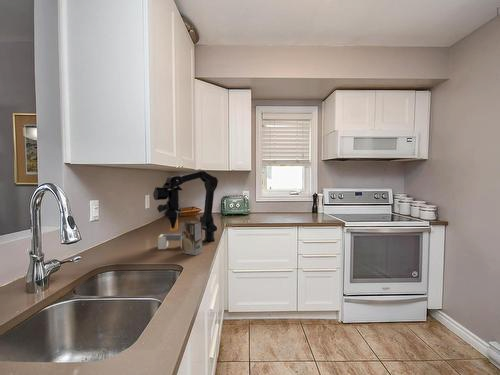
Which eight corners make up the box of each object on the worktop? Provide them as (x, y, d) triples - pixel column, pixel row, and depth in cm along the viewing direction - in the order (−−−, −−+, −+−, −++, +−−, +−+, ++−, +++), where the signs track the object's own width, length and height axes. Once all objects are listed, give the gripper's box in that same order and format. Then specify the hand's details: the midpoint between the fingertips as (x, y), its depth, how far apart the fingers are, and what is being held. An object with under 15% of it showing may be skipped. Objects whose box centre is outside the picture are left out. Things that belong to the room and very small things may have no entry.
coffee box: (203, 252, 135) (203, 222, 134) (195, 255, 129) (195, 224, 128) (189, 249, 139) (189, 220, 138) (181, 252, 133) (181, 222, 133)
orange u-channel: (172, 228, 146) (172, 216, 146) (177, 228, 147) (177, 216, 146) (170, 231, 139) (169, 218, 139) (175, 230, 140) (175, 218, 139)
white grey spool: (158, 249, 140) (158, 236, 139) (161, 245, 147) (160, 233, 146) (188, 248, 142) (188, 235, 141) (189, 245, 148) (189, 233, 148)
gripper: (161, 197, 150) (162, 223, 151) (154, 200, 132) (155, 230, 133) (181, 197, 152) (181, 223, 152) (176, 200, 133) (177, 230, 134)
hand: (174, 226), depth 143 cm, fingers closed on orange u-channel, 7 cm apart
